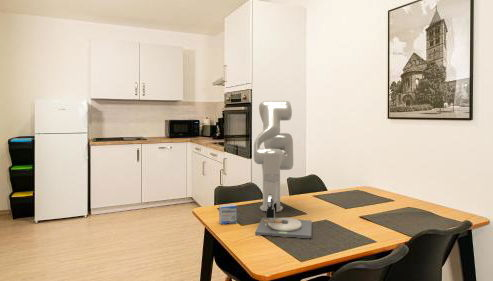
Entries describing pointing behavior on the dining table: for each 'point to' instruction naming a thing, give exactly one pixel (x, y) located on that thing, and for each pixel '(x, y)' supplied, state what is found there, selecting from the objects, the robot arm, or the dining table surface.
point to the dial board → (300, 233)
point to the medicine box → (227, 213)
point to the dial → (283, 223)
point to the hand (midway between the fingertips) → (271, 214)
